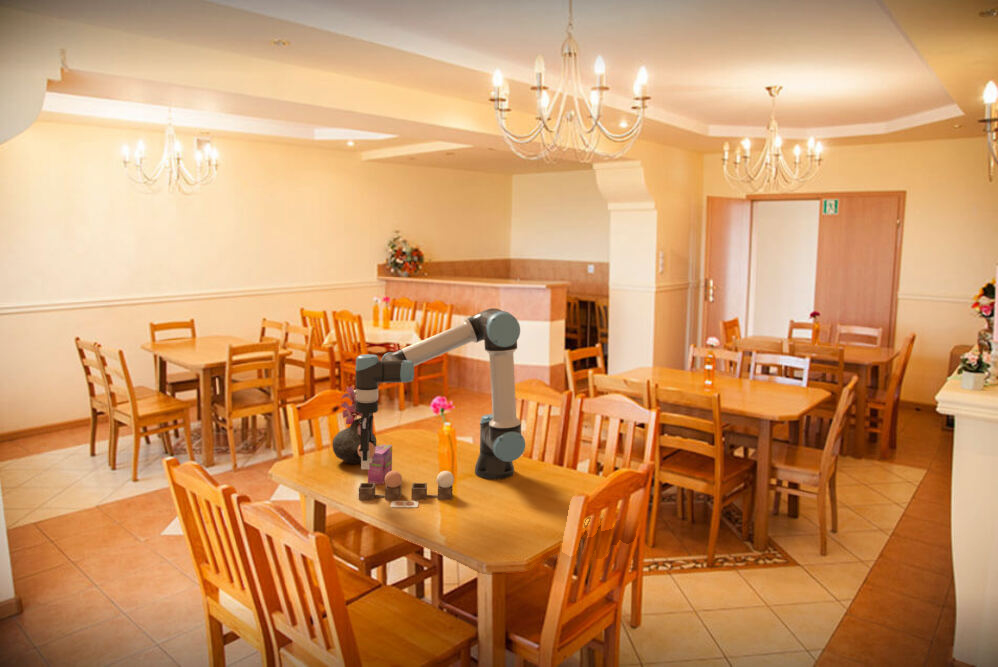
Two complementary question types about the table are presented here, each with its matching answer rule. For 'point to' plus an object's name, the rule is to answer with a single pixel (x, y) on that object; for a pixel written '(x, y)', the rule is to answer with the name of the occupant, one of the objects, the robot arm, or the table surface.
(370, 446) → the terracotta ball
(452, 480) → the ball cream
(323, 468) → the table surface
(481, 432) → the robot arm
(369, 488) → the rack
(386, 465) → the box
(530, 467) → the table surface
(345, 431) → the vase
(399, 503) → the card
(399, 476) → the terracotta ball
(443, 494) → the rack
